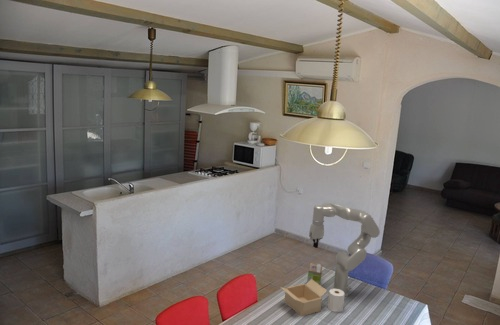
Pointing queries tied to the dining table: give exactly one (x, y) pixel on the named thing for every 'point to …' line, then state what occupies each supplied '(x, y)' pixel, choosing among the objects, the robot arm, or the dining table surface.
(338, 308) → the toilet paper
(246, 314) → the dining table surface
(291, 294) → the flap
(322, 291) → the flap
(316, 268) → the tea box
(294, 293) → the carton
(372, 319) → the dining table surface
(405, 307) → the dining table surface
